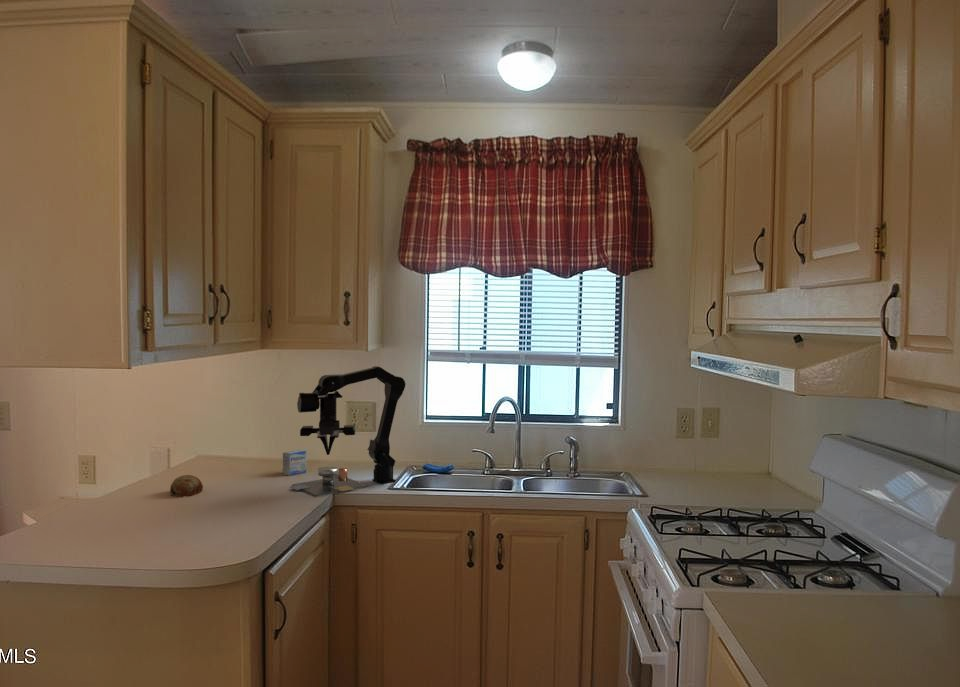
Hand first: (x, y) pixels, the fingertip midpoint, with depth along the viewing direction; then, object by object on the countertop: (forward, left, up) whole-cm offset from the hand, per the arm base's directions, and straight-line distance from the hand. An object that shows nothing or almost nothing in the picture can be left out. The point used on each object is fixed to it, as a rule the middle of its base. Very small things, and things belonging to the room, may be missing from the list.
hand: (328, 454), depth 218 cm
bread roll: (+40, -25, -12) cm, 49 cm away
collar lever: (-2, 0, -8) cm, 9 cm away
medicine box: (0, -27, -12) cm, 30 cm away
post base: (0, -1, -12) cm, 12 cm away
